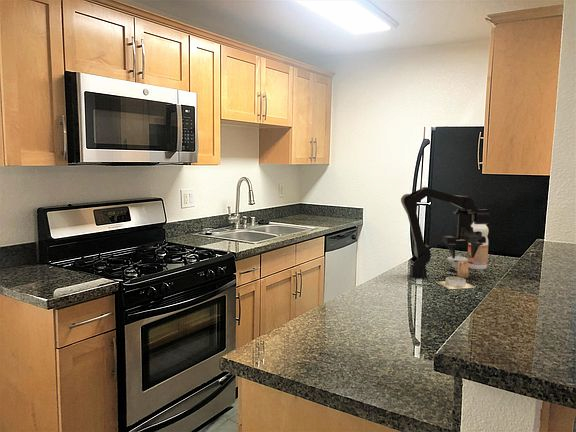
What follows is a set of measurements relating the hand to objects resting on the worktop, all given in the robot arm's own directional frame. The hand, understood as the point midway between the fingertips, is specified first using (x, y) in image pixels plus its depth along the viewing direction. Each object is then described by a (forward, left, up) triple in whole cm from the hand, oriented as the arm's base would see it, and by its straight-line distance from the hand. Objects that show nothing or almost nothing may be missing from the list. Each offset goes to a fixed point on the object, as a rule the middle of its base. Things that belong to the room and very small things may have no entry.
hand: (463, 258), depth 210 cm
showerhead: (+6, +16, -10) cm, 20 cm away
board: (-10, -12, -10) cm, 18 cm away
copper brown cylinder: (0, 0, -10) cm, 10 cm away
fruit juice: (+19, +20, -10) cm, 29 cm away
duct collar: (-10, -12, -9) cm, 18 cm away
